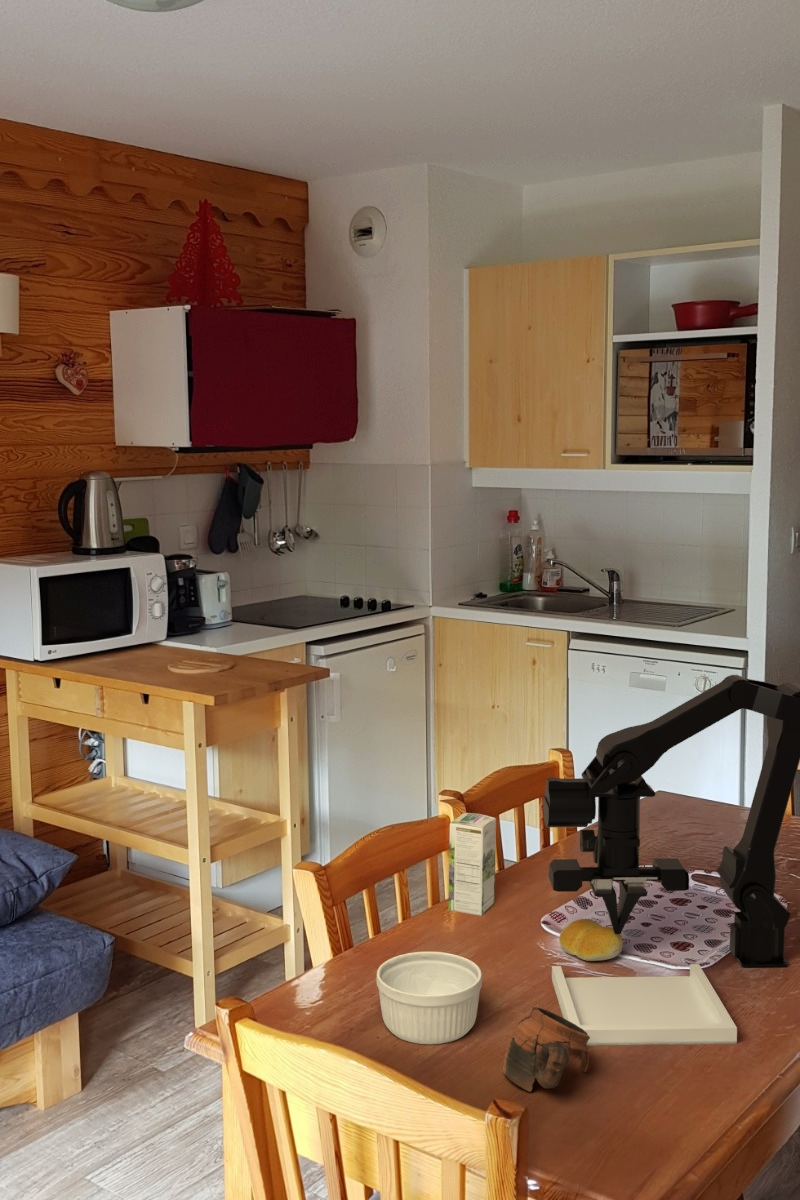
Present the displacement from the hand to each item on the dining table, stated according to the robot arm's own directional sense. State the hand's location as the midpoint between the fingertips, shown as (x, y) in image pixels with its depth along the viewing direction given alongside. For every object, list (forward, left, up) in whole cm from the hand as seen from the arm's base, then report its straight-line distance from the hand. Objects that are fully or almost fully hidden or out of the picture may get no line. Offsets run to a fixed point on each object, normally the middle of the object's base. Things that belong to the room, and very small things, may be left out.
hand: (617, 933), depth 168 cm
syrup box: (+19, -20, -4) cm, 28 cm away
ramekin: (+27, +18, -4) cm, 33 cm away
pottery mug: (+15, +33, -5) cm, 37 cm away
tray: (0, +15, -4) cm, 16 cm away
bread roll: (0, -2, -4) cm, 5 cm away
